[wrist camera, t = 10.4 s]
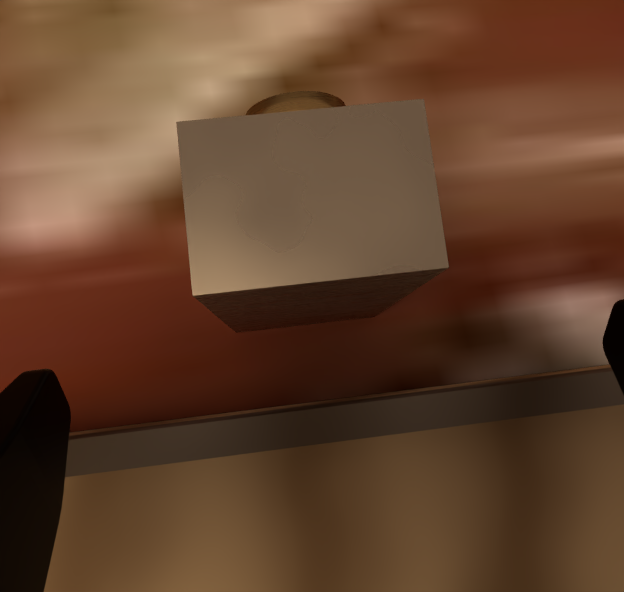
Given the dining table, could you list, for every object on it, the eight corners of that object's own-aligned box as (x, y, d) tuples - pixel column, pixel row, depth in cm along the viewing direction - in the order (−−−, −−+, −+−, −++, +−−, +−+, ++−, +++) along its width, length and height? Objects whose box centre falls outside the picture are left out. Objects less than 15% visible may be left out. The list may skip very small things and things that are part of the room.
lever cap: (374, 316, 22) (448, 267, 12) (236, 332, 21) (192, 295, 11) (359, 202, 22) (418, 62, 12) (224, 216, 22) (172, 84, 12)
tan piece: (639, 360, 22) (718, 357, 18) (689, 620, 21) (785, 678, 17) (-34, 445, 20) (-112, 462, 16) (-21, 728, 19) (-100, 821, 15)
